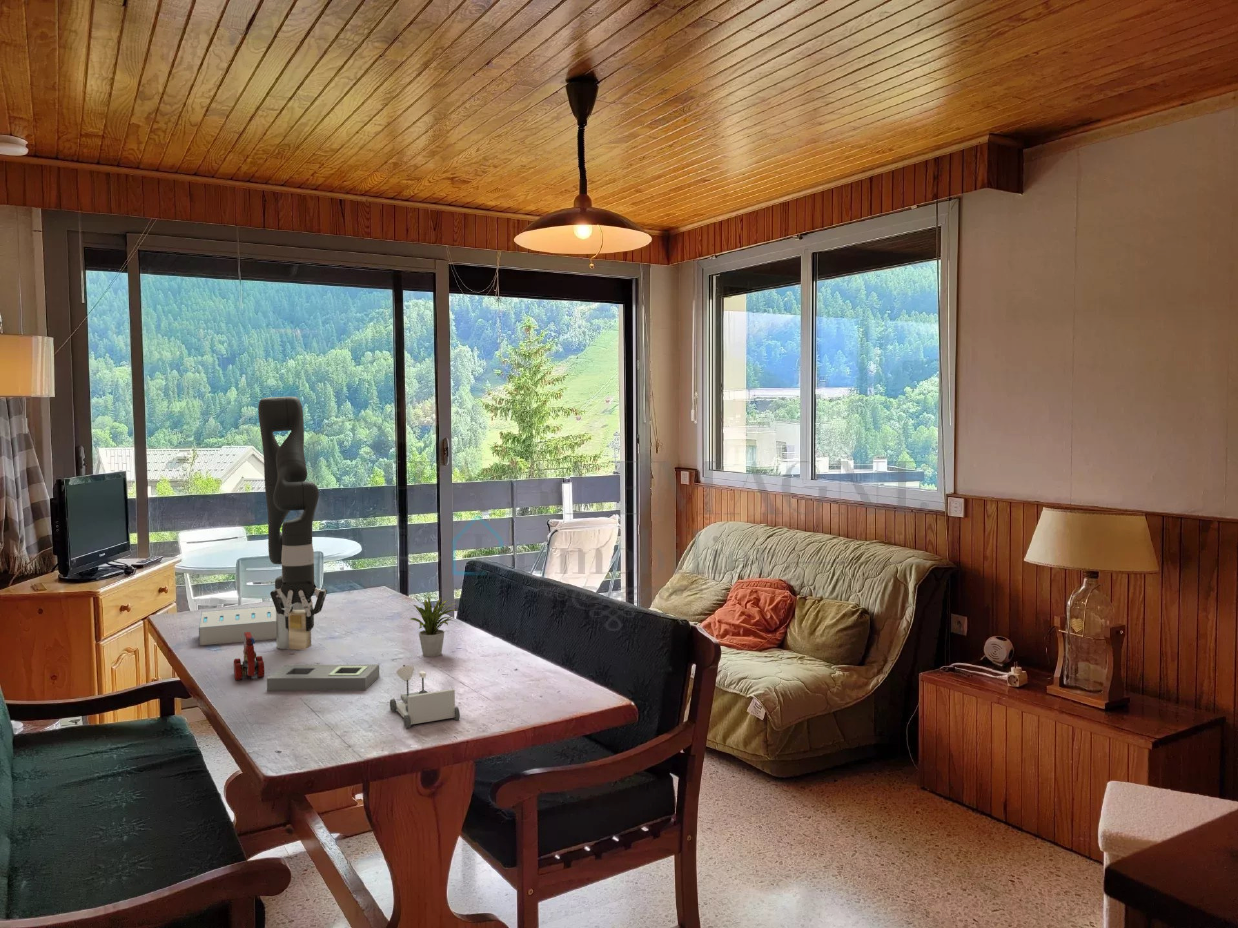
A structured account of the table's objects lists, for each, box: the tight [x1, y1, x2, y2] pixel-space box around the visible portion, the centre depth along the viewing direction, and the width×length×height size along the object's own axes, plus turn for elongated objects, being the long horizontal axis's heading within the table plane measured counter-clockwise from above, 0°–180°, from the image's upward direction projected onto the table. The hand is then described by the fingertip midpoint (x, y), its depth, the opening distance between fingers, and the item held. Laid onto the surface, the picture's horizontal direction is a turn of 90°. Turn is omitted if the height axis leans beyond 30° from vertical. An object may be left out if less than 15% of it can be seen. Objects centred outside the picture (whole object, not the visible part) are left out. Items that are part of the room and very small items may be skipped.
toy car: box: [389, 664, 461, 730], centre depth 200 cm, size 18×10×12 cm
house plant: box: [408, 596, 459, 658], centre depth 249 cm, size 14×14×16 cm
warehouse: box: [198, 605, 276, 646], centre depth 275 cm, size 30×14×8 cm, turn 112°
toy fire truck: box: [233, 632, 265, 681], centre depth 231 cm, size 7×12×10 cm, turn 26°
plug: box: [288, 610, 312, 650], centre depth 223 cm, size 5×4×9 cm
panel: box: [266, 664, 380, 691], centre depth 224 cm, size 12×24×3 cm, turn 89°
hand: (299, 630), depth 224 cm, fingers closed on plug, 4 cm apart
